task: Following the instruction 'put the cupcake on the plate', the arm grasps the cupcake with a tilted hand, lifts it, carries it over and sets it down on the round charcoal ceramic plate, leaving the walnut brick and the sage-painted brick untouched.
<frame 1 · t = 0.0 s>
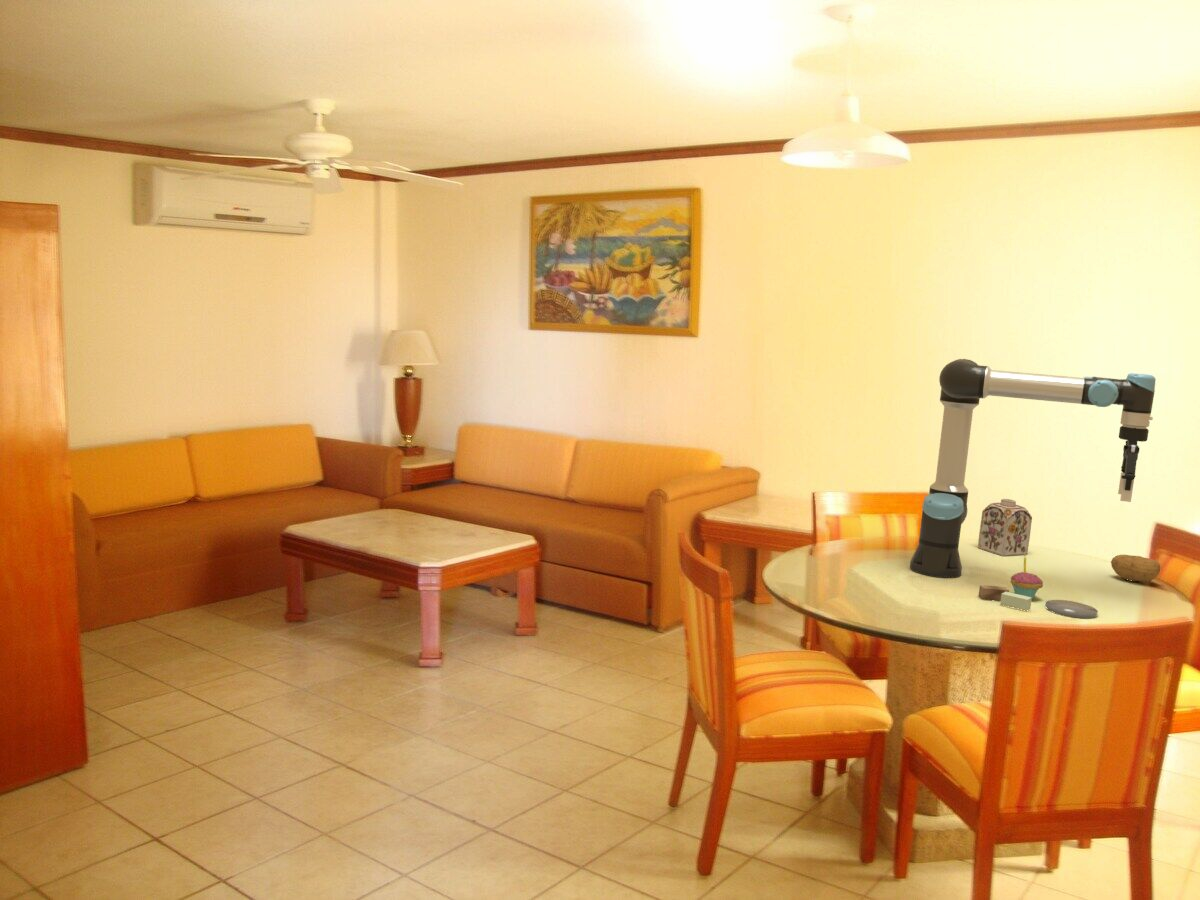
hand: (1124, 497, 302), 28 cm above the table, tool pointing down, fingers open, 13 cm apart
sage brick: (1015, 607, 280), on the table
potato: (1132, 581, 319), on the table
decorative jar: (1002, 552, 348), on the table
plate: (1070, 611, 280), on the table
walnut brick: (992, 599, 287), on the table
cupcake: (1024, 598, 291), on the table
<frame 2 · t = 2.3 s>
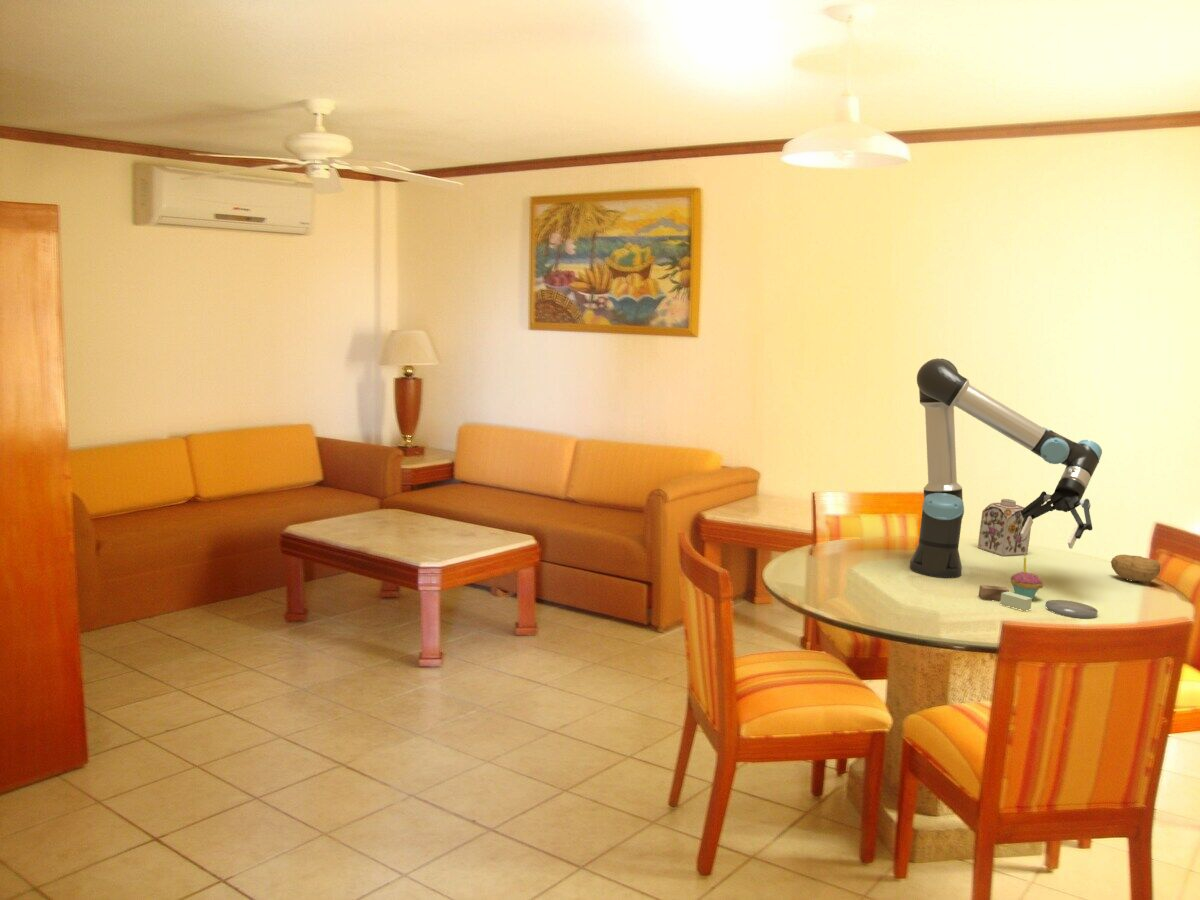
hand: (1045, 541, 296), 15 cm above the table, tool tilted 45°, fingers open, 13 cm apart
nothing on the table moved.
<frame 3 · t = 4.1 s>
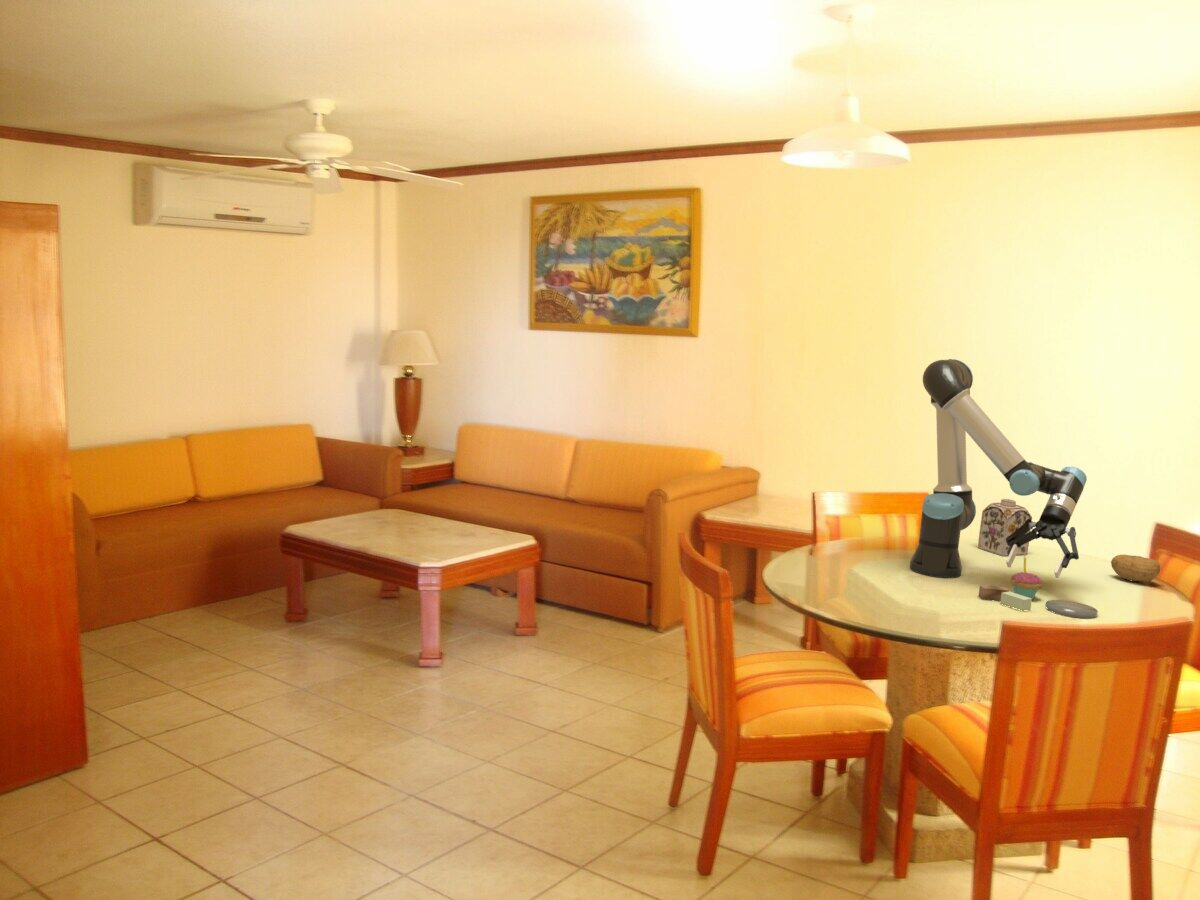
hand: (1031, 570, 291), 8 cm above the table, tool tilted 45°, fingers open, 13 cm apart
nothing on the table moved.
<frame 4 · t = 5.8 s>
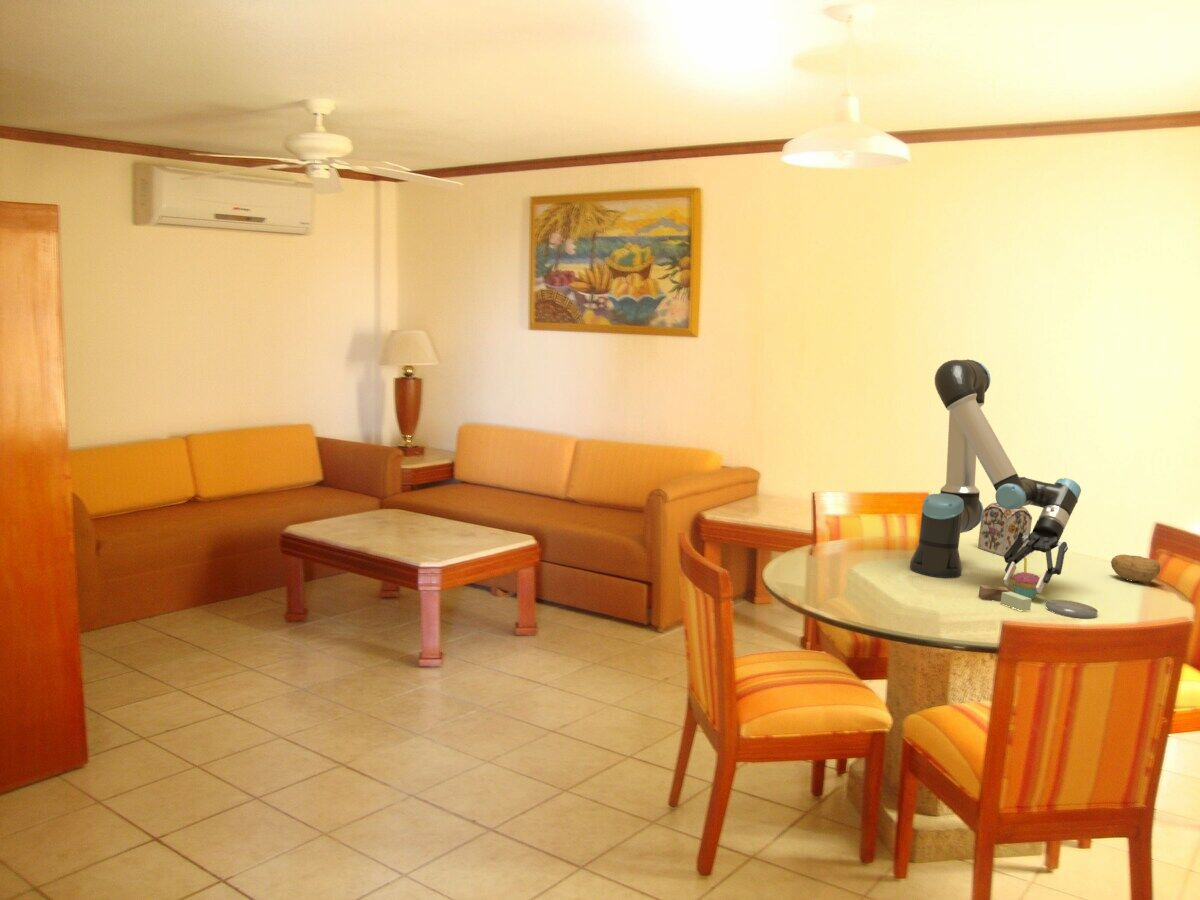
hand: (1021, 586, 288), 4 cm above the table, tool tilted 45°, fingers closed on cupcake, 8 cm apart
cupcake: (1025, 598, 291), on the table, touching gripper
everything else where it was.
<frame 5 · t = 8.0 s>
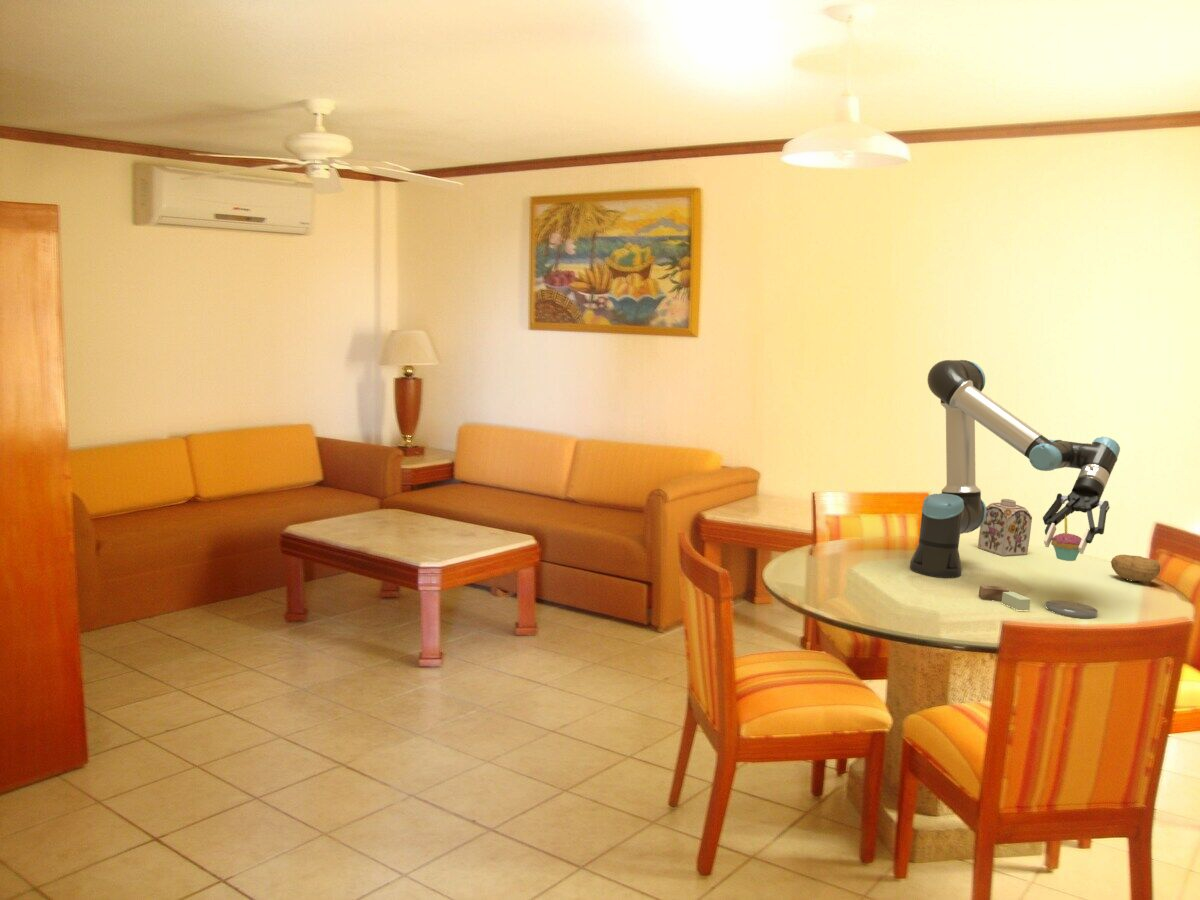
hand: (1063, 547, 278), 17 cm above the table, tool tilted 45°, fingers closed on cupcake, 8 cm apart
cupcake: (1066, 559, 281), point 14 cm above the table, touching gripper
when the fingers open (6 cm above the table, at t = 10.7 s): cupcake drops 1 cm, resting on plate.
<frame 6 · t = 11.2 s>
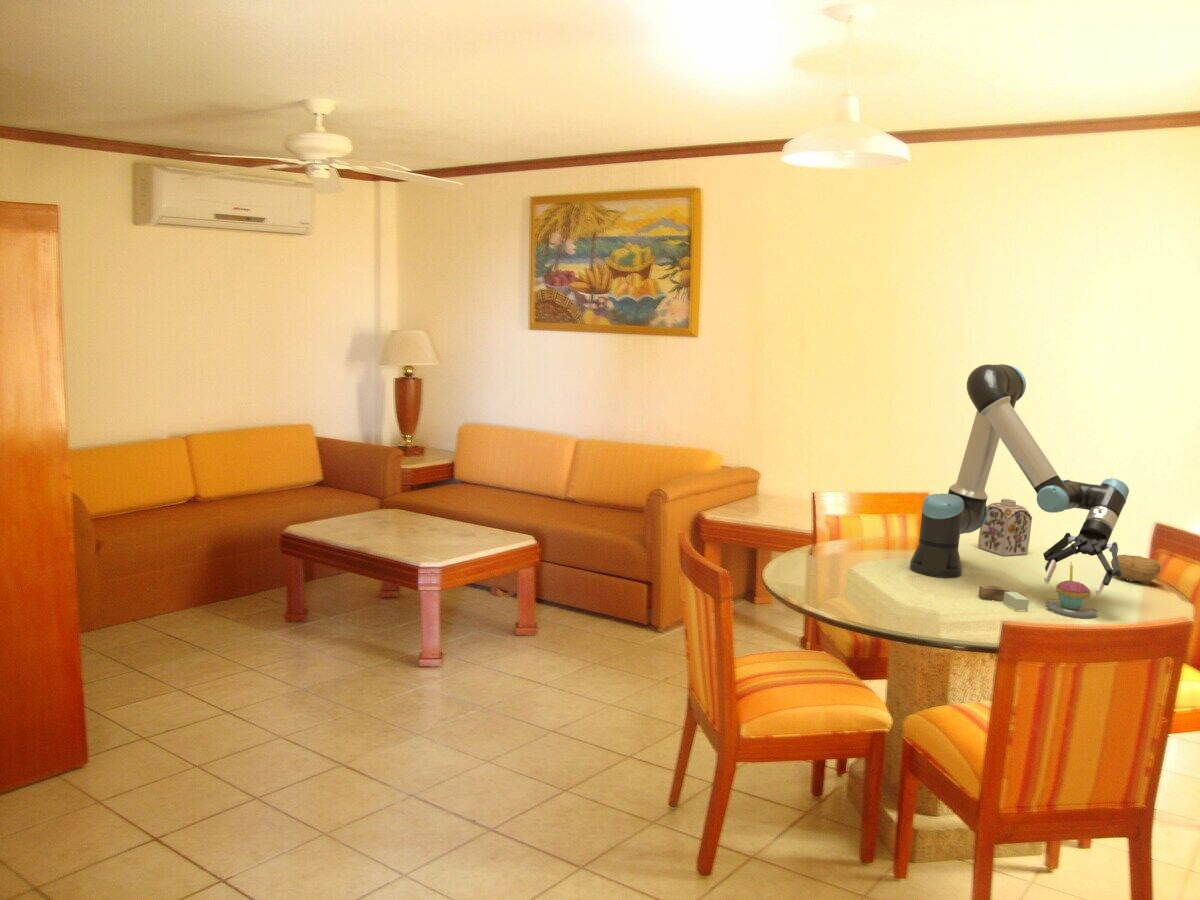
hand: (1071, 587, 277), 7 cm above the table, tool tilted 45°, fingers open, 13 cm apart
cupcake: (1070, 607, 280), point 1 cm above the table, touching plate
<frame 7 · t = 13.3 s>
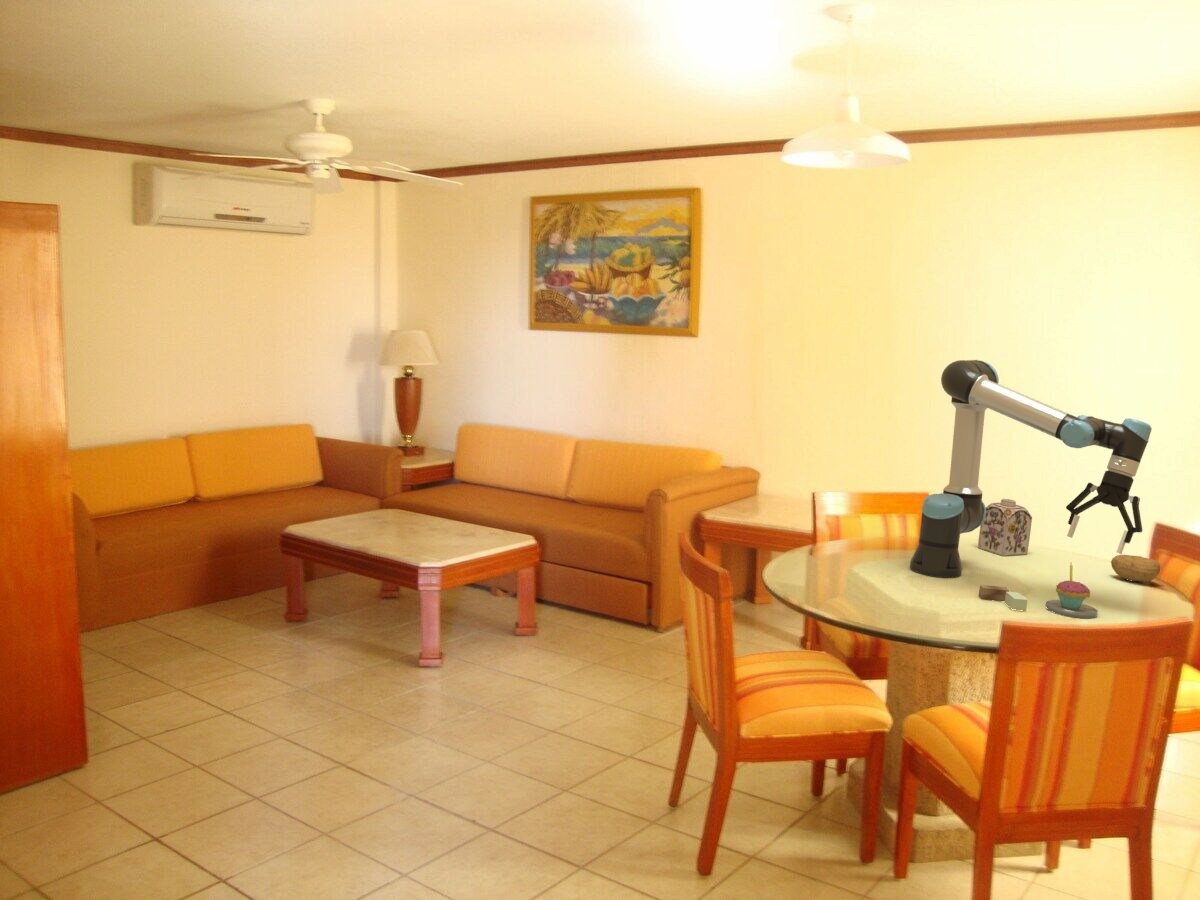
hand: (1093, 545, 288), 17 cm above the table, tool tilted 15°, fingers open, 13 cm apart
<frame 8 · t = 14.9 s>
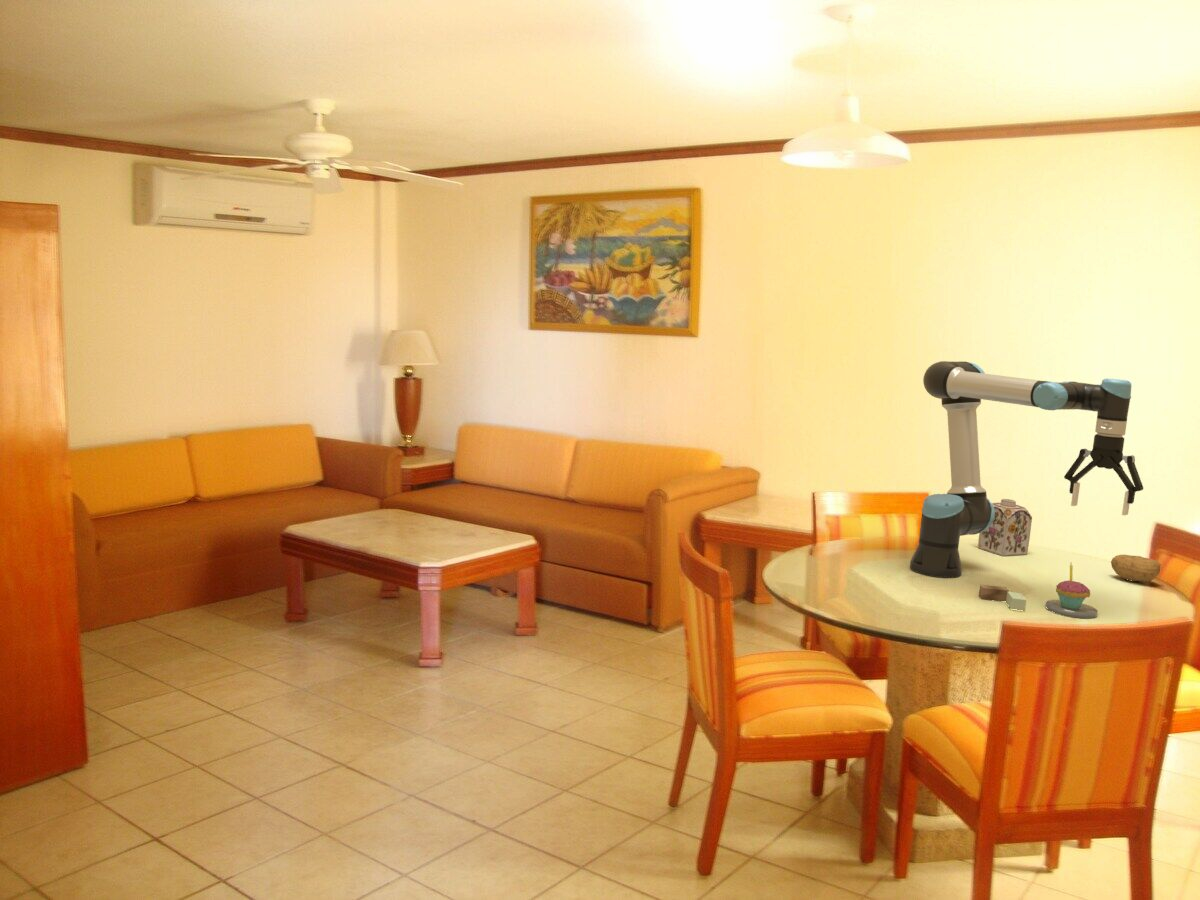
hand: (1099, 510, 286), 27 cm above the table, tool pointing down, fingers open, 13 cm apart
at the end: cupcake inside the target area on the plate (0.2 cm from its centre), point 1.0 cm above the plate's base; walnut brick moved 0.2 cm from its start; sage brick moved 0.2 cm from its start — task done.
